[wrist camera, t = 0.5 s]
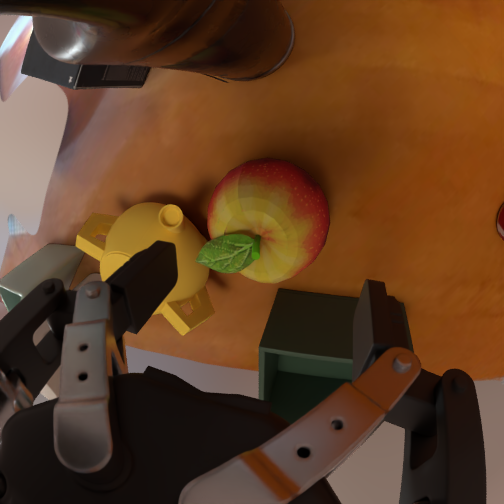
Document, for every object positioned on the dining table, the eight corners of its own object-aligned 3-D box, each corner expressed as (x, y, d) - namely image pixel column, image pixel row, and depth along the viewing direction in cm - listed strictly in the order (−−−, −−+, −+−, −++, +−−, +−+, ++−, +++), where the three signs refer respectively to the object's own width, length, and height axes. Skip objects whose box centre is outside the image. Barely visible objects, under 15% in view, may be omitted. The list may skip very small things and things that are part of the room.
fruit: (342, 238, 29) (342, 296, 21) (248, 259, 34) (217, 315, 25) (311, 136, 25) (300, 153, 17) (211, 170, 30) (160, 202, 21)
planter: (57, 215, 39) (-36, 278, 23) (86, 249, 41) (-4, 325, 24) (41, 267, 48) (-25, 324, 31) (66, 295, 49) (2, 359, 32)
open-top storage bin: (278, 288, 34) (258, 346, 26) (403, 302, 31) (416, 364, 23) (274, 369, 42) (258, 421, 34) (372, 380, 38) (371, 435, 30)
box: (164, 35, 23) (97, 20, 14) (143, 89, 27) (74, 94, 18) (99, 23, 23) (34, 18, 14) (83, 70, 27) (18, 76, 18)
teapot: (193, 325, 42) (158, 382, 32) (100, 250, 40) (50, 291, 30) (278, 233, 31) (250, 296, 22) (149, 134, 29) (77, 157, 20)
